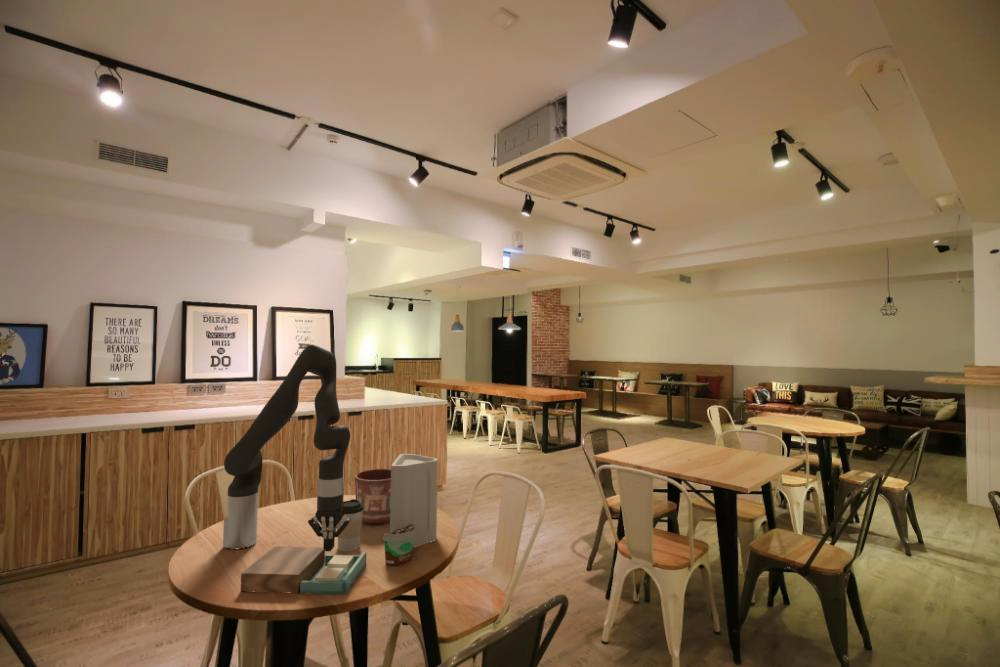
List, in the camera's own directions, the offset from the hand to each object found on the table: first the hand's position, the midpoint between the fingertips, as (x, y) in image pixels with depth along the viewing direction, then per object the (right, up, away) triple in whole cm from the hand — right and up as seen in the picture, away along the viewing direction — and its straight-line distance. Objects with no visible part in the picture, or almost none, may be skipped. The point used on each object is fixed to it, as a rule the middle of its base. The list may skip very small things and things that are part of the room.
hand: (328, 550), depth 142 cm
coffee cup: (0, -7, +17) cm, 19 cm away
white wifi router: (+22, -8, +25) cm, 34 cm away
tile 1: (+3, -3, -8) cm, 9 cm away
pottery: (+3, -8, +43) cm, 44 cm away
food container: (+21, -7, +7) cm, 23 cm away
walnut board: (-11, -6, -4) cm, 13 cm away
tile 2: (+4, -3, 0) cm, 5 cm away
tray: (+4, -6, -5) cm, 8 cm away
